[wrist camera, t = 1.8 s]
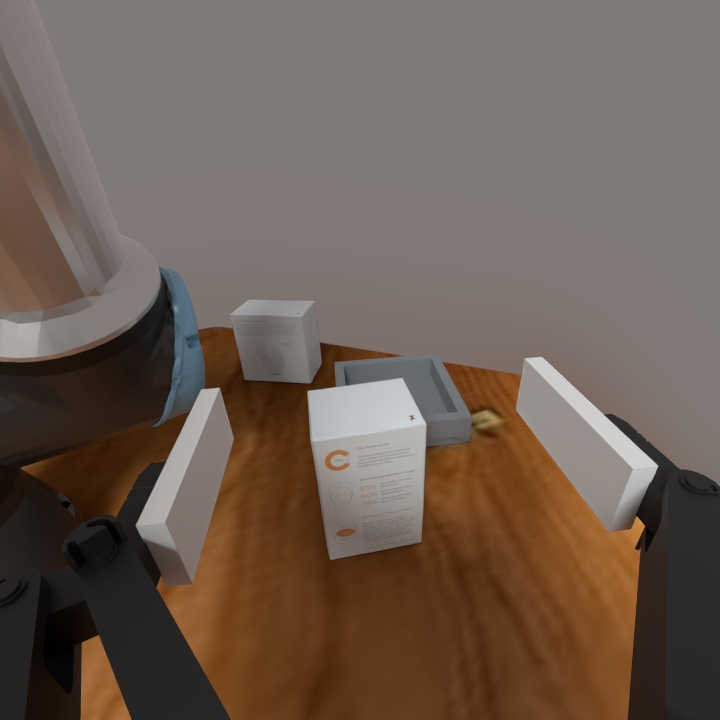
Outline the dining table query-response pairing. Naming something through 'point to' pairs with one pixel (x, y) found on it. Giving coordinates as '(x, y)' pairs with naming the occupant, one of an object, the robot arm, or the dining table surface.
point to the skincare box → (277, 340)
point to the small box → (368, 465)
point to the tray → (418, 392)
